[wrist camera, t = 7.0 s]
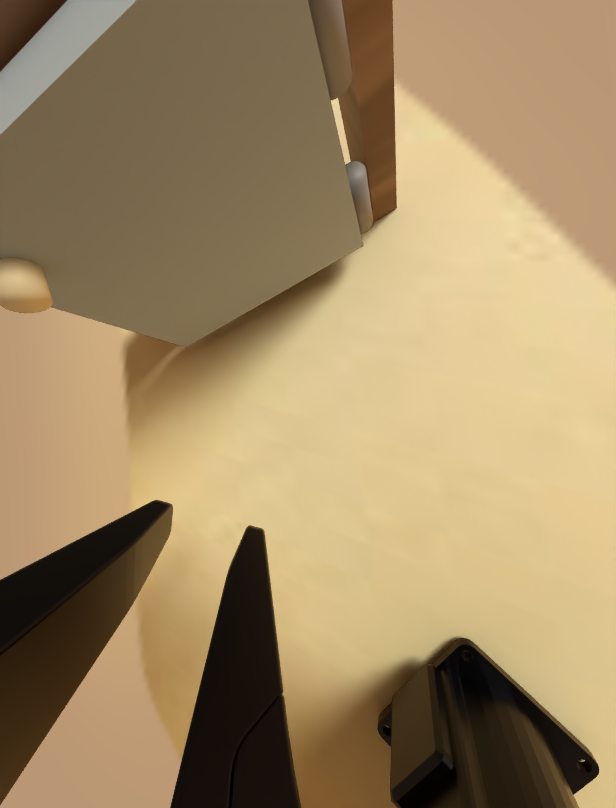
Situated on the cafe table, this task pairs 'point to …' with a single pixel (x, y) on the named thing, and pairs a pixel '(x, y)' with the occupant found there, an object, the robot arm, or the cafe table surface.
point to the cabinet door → (175, 161)
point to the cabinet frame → (360, 104)
